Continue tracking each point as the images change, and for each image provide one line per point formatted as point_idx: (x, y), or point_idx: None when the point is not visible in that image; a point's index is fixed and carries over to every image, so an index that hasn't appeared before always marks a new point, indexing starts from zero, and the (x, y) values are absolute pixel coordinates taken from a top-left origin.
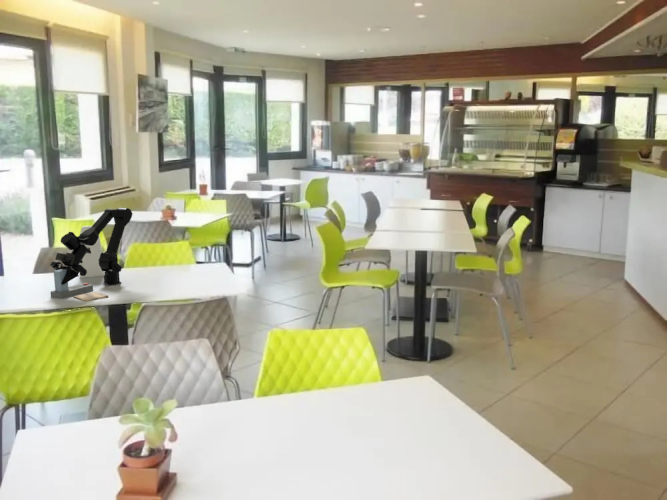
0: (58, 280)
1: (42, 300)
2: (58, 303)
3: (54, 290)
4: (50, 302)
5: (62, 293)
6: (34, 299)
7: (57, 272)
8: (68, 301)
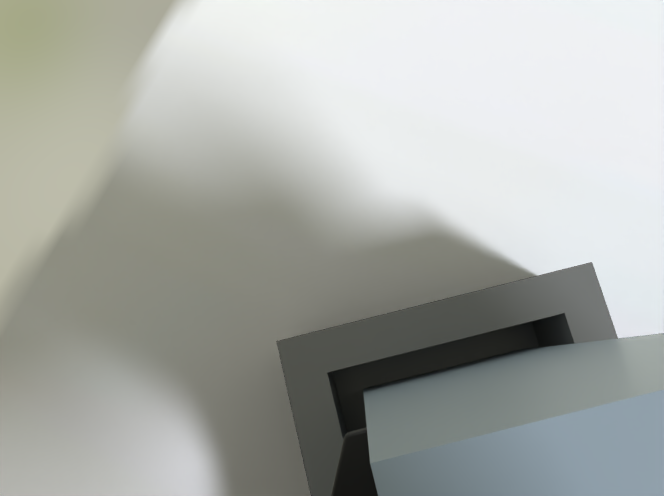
0: (461, 386)
1: (484, 122)
2: (113, 214)
3: None
4: (267, 156)
5: (286, 380)
6: (640, 63)
7: (590, 396)
8: (98, 378)
